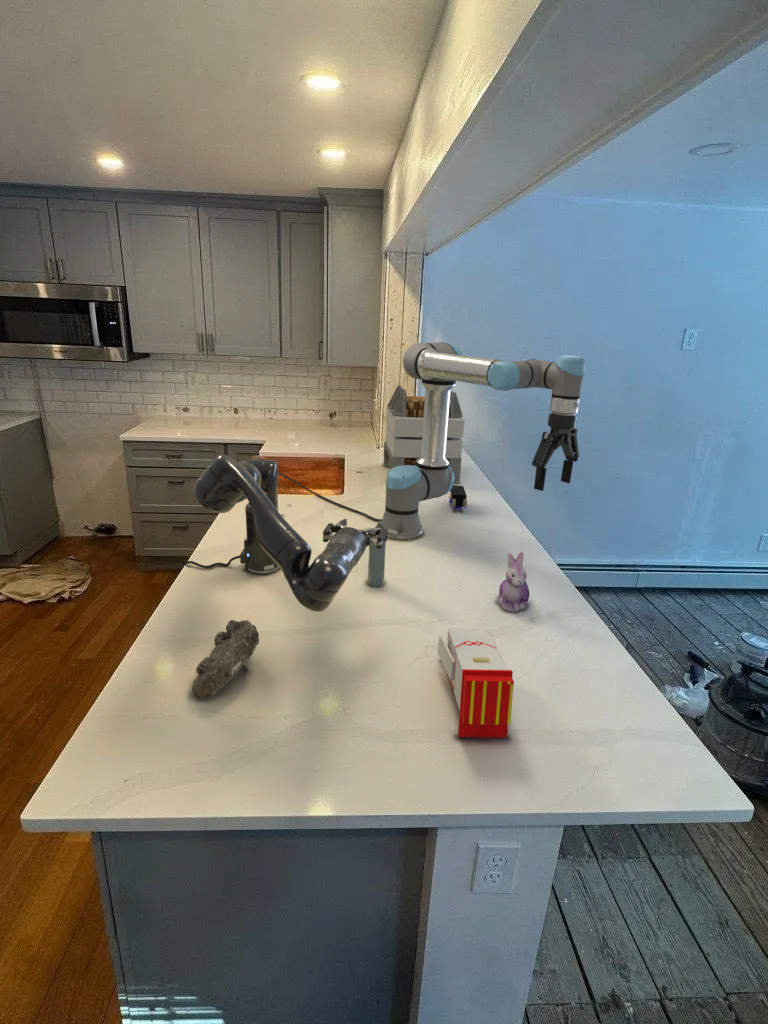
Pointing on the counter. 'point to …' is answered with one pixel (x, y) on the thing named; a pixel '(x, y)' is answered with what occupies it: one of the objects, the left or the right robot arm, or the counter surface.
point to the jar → (376, 565)
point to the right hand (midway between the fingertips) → (552, 485)
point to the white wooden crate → (419, 431)
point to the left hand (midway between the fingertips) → (362, 524)
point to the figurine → (514, 585)
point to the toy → (478, 682)
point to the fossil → (226, 657)
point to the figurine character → (458, 497)
